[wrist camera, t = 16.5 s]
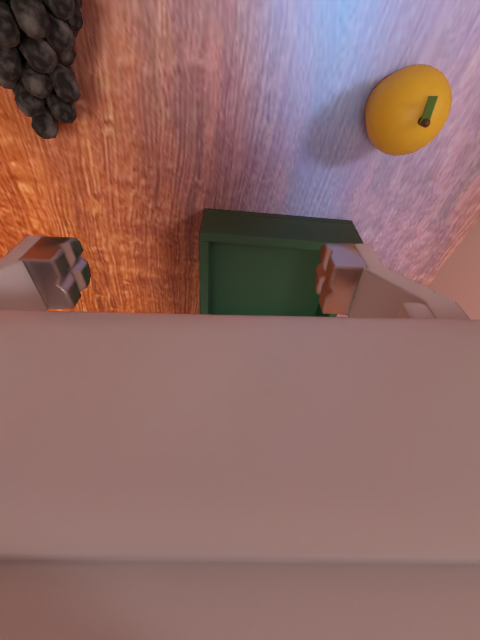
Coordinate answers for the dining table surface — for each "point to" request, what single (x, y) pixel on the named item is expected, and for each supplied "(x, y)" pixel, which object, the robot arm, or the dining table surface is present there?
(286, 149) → the dining table surface
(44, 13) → the fruit
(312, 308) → the crate
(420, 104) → the orange
